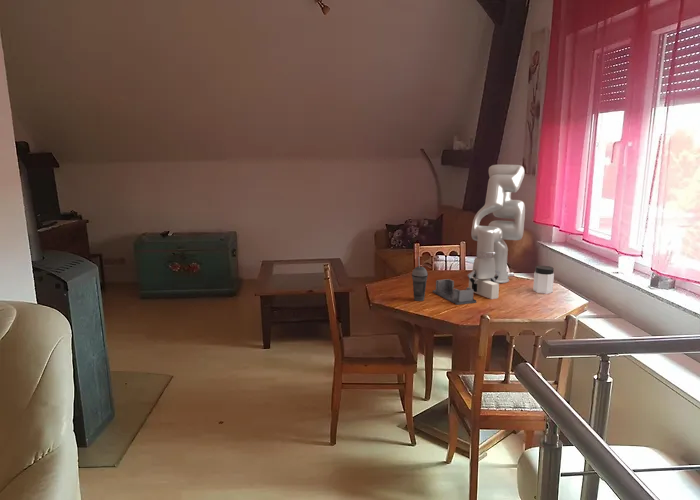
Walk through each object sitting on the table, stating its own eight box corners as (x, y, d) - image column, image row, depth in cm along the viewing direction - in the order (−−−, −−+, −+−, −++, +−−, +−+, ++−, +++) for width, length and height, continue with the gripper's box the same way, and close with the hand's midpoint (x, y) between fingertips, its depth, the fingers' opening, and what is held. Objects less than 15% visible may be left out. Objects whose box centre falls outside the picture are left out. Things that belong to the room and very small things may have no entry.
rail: (475, 289, 259) (475, 275, 258) (498, 298, 244) (499, 283, 243) (468, 290, 257) (469, 276, 256) (491, 299, 242) (492, 284, 241)
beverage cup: (417, 302, 236) (418, 259, 233) (407, 298, 243) (409, 256, 239) (430, 300, 240) (431, 257, 236) (421, 296, 246) (422, 254, 242)
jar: (555, 293, 251) (556, 269, 249) (538, 294, 251) (539, 269, 249) (547, 289, 260) (549, 265, 258) (531, 289, 260) (532, 265, 257)
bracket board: (450, 290, 257) (451, 278, 256) (476, 302, 237) (476, 289, 236) (432, 292, 254) (432, 280, 252) (457, 304, 233) (457, 291, 232)
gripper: (495, 252, 253) (493, 286, 257) (464, 254, 247) (463, 290, 251) (505, 255, 247) (503, 290, 250) (473, 257, 241) (471, 294, 244)
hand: (483, 290), depth 250 cm, fingers open, 9 cm apart
